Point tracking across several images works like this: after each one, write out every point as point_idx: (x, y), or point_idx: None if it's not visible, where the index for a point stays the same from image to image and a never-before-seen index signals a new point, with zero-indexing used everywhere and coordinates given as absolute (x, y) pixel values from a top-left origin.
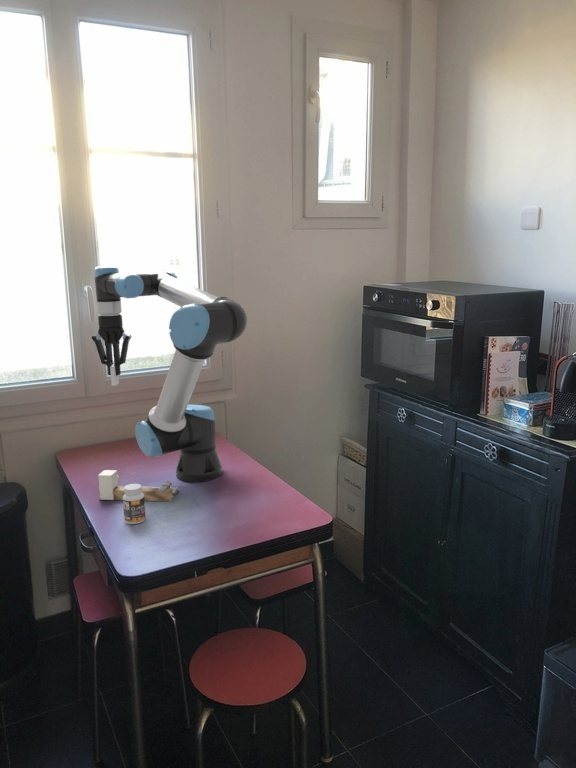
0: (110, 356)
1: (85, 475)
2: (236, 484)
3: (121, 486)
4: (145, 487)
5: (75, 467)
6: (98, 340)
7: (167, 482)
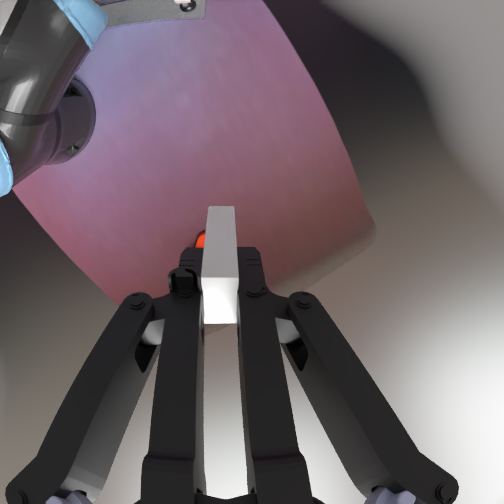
0: (241, 358)
1: (287, 88)
2: None
3: (178, 15)
4: (127, 19)
5: (323, 136)
6: (386, 486)
7: None
